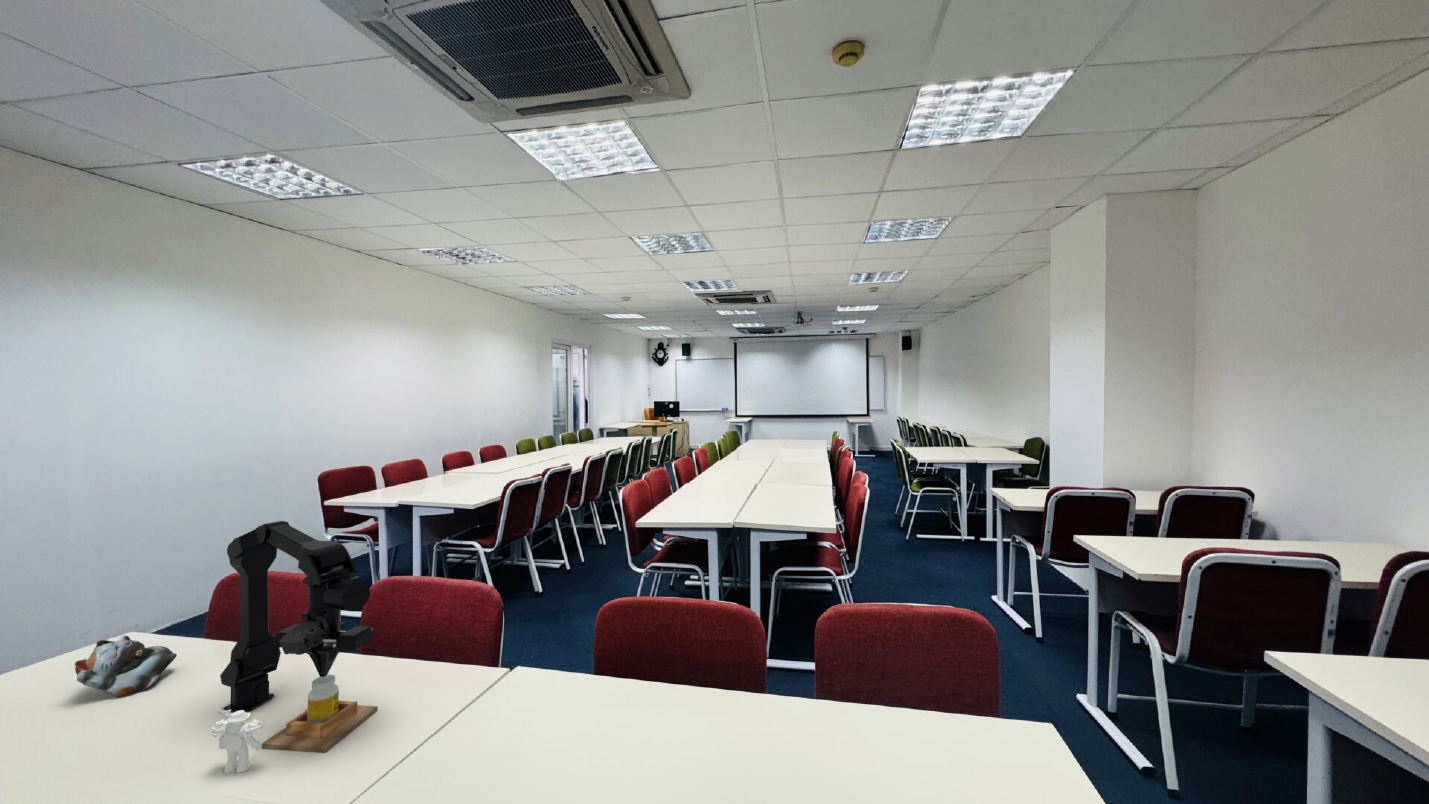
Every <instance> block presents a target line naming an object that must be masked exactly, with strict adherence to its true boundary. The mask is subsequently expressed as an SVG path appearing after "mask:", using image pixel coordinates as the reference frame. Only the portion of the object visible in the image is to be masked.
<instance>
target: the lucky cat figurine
mask: <svg viewBox="0 0 1429 804" xmlns="http://www.w3.org/2000/svg"><path fill="white" fill-rule="evenodd" d="M145 646H146V645H144V643H143V642H140V641H139V640H134V639H131V638H130V637H129V636H128V635H122V636H120V637H119V638H118V640H115V641H110V640H105V639H101V640H98V641H97V642H96V645H95V647H94V649H93V651H92V652H91V654H90V655H89V657H88V658H84V659H79V660H77V661H76V662H74V666H75V668H74V671H75V674H76V681H77V682H79V683H80V684H83V686H86V687H90V688H93V689H95V690H97V689H98V690H100V691H102V692H103V691H104V692H108V693H110V694H112V695H113V696H115V697H118V698H119V697H120V698H124V697H129V696H131V695H132V696H133V695H136V694H139V693H142V692H143V691H144V690H146V689H148V688H149V687H151V685H153V684H155V682H157V680H158V679H159V678H160V676H161V675H162V673H163V672H164V671H165V670H166V669H167V668H168V667H169V666H170V664H172V662H173V661H174V660H175V659H176V657H177V656H178V654H177V653H175V652H173V650H171V649H170V648H168V647H166V646H163V645H153V646H148V647H145Z"/></svg>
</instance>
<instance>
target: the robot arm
mask: <svg viewBox="0 0 1429 804" xmlns="http://www.w3.org/2000/svg"><path fill="white" fill-rule="evenodd" d="M226 548H227V549H226V554H227V557H228V560H229V565H230V566H231V567H232V569H234V570H235V571H236V572H237V574H239V605H240V607H239V613H240V614H239V615H240V617H239V619H240V637H239V638H238V640H237V641H236V643H235V645H234V647H233V648H232V650H231V651H230V652H231V653H230V662H228V664H227V665H226V667H225V668H224V670H223V671H222V672H221V673H220V675H219V677H220V683H221V685H223V686H225V687H229V688H230V703H229V704H228V705H225V706H224V707H223V708H222V709H223V710H226V711H227V710H231V711H230V712H236V711H240V710H244V712H246V713H249V712H251V711H252V710H254V709H256V708H257V707H259V706H260V705H262V704H264V703H266V702H267V701H268V700H270V699H272V698H274V697H275V693H270V681H269V673H272V672H274V671H277V669H278V666H279V662H280V658H281V654H282V652H281V649H282V651H283V653H284V655H289V654H290V655H298V656H302V655H304V654H307V655H308V656H309V658H310V659H311V661H312V662H313V664H314V667H315V669H316V671H317V673H318V677H325V676H326V675H329V672H330V670H331V668H332V666H333V665H334V662H335V661H336V658H337V656H338V654H339V653H340V651H350V652H351V651H354V650H356V649H358V648H360V647H361V646H363V645H365V644H366V643H368V642H369V641H371V640H373V639H374V629H373V627H371V626H365V625H364V626H362V625H355V626H353V627H351V628H349V629H348V630H342V629H344V628H346V621H345V622H343V621H342V622H341V620H342V617H341V616H342V615H341V613H342V611H347V612H357V611H359V610H361V609H362V608H363V607H365V605H366V604H367V602H368V601H369V599H370V596H371V589H370V587H369V586H368V585H367V584H366V583H365V582H362V581H361V579H362V577H361V576H358V575H357V574H358V570H357V568H356V566H357V564H355V562H354V560H353V559H352V557H351V555H350V554H349V550H348V549H347V548H346V546H344V544H343V543H340V542H337V541H332V540H320V539H319V540H318V539H316V538H314V537H312V536H309V535H308V534H306V533H304V532H303V531H301V530H299V529H297V528H295V527H293V526H291V524H289V522H288V521H285V520H278V521H274V522H273V521H272V522H268V523H263V524H261V525H259V526H257V527H256V528H254V529H253V530H250V531H248V532H247V533H244V534H242V535H240V536H238V537H235V538H233V540H231V542H230V543H229V544H228V546H227V547H226ZM278 550H279V551H282V552H284V553H285V554H286V555H289V556H290V557H291V558H294V559H295V560H296V561H298V564H297V568H298V569H299V570H300V571H301V572H302V573H304V574H305V577H304V578H303V579H302V580H301V581H302V583H303V584H307V611H305V612H303V613H302V614H301V618H300V622H299V623H294V624H293V625H290V626H288V627H286V628H284V629H281V630H279V631H277V632H276V634H275V635H273V634H272V633H271V632H270V629H269V628H270V627H269V626H270V624H269V618H270V617H269V569H270V568H271V566H272V564H273V563H274V561H276V559H277V556H278V555H277V554H278ZM354 575H355V576H354ZM356 575H357V576H356ZM280 648H281V649H280Z"/></svg>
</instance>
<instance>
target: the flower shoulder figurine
mask: <svg viewBox="0 0 1429 804" xmlns="http://www.w3.org/2000/svg"><path fill="white" fill-rule="evenodd" d="M222 709H223V708H221V709H218V710H217V712H218V714H220V716H223V715H224V716H225V717H222V719H221V720H219V721H216V722H215V725H214V726H212V727H211V729H210V730H211V736H212V737H213V738H217V737H218V736H219V735H220V736H219V738H218V749H219V750H225V751H227V761H226V763H225V767H224V770H223V772H224V773H225V774H229V773H232V772H234V771H236V773H243V772H245V771H247V770H249V769H250V768H251V767H252V766H253V761H252V760H250V759H249V758H250V755H249V747H248V745H249V746H250V747H251V748H252V749H254V750H255V751H256V752H258V750H260V749H262V743H263V742H262V741H259V740H257V739H256V738H255V737H254V736H253V733H256V734H261V733H263V731H264V727H265V725H264V724H265V722H264V721H261V720H258V719H259V717H257V719H253V720H252V721H250V716H251V714H252V713H251V712H244V710H240V711H233V713H232V711H231V710H227V711H226V710H222ZM226 717H228V718H227V719H226ZM238 758H239V759H238Z"/></svg>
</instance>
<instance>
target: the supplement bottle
mask: <svg viewBox="0 0 1429 804" xmlns="http://www.w3.org/2000/svg"><path fill="white" fill-rule="evenodd" d="M339 692H340V688H339V685H338V684H337V683H336V675H335V674H327V675H326V676H325V677H320V676H318V677H317V678H315V679H313V680H312V681H311V691H310V692H308V695H307V709H308V710H307V709H306V710H307V722H320V723H325V722H326V721H327V720H329V719H330V718H331V717H333V716H334V715H336V714H337V713H338V703H339V701H340V700H339V699H340V697H339V695H340V693H339Z"/></svg>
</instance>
